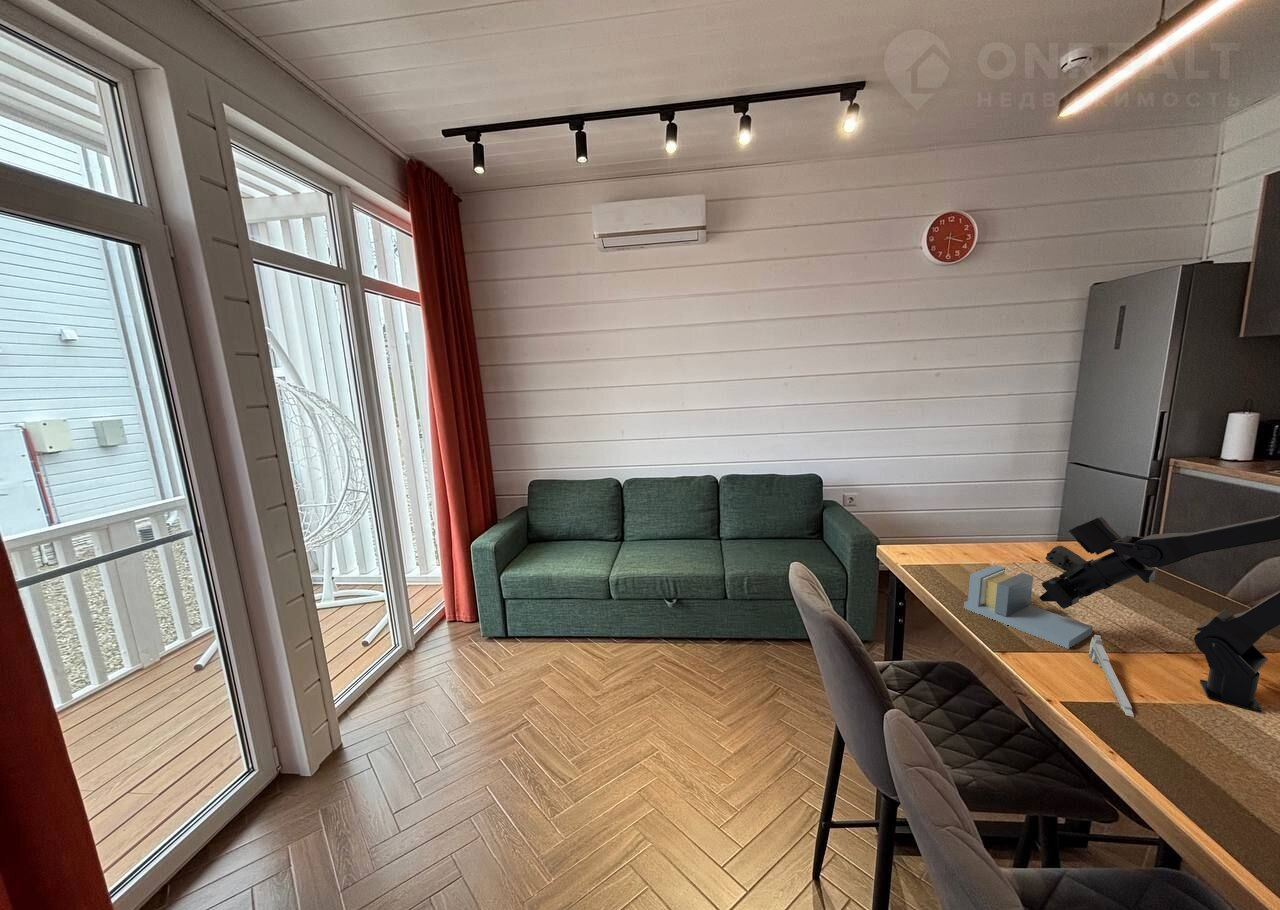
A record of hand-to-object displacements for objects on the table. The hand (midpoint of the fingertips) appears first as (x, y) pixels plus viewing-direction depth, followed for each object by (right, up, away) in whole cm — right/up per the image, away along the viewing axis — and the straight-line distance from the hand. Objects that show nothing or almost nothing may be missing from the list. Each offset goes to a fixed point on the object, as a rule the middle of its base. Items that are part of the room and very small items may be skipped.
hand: (1041, 599), depth 114 cm
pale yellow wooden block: (-4, -4, +9) cm, 10 cm away
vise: (-1, -7, +4) cm, 8 cm away
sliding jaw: (-3, -4, +6) cm, 8 cm away
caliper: (-4, -11, -20) cm, 24 cm away
